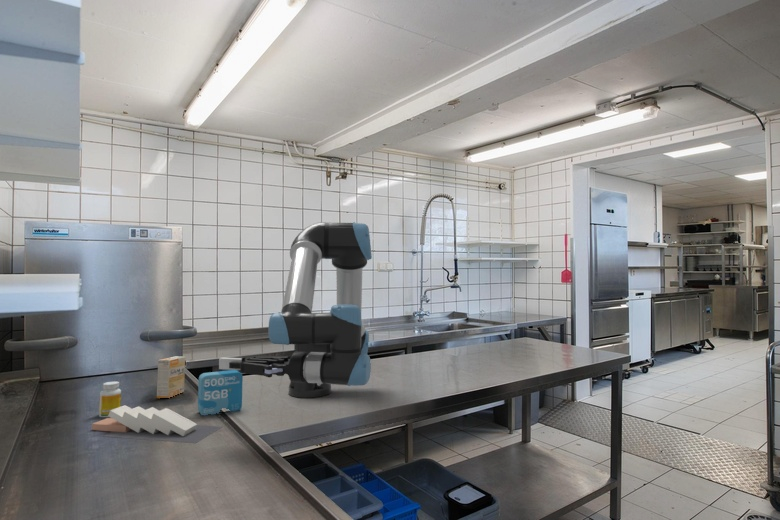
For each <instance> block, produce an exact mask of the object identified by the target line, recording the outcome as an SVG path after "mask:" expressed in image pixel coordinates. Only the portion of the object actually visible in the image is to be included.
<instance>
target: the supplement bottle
mask: <svg viewBox="0 0 780 520" xmlns="http://www.w3.org/2000/svg"><path fill="white" fill-rule="evenodd" d="M119 387H120V382H119V381H107V382H103V383H102V389H103V390H101V391H100V393H99V402H98V403H99V404H98V405H99V406H98V417H99V418H110V417H109V416H108V415H109V412H110V410H113V409H116V408H118V407H121V405H122V389H120V388H119Z"/></svg>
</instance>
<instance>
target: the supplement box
mask: <svg viewBox="0 0 780 520" xmlns="http://www.w3.org/2000/svg"><path fill="white" fill-rule="evenodd" d="M157 362H158V363H157V384H156V385H157V386H156V399H160V398H169V399H171V398H170V397H172V398H174V397H176V396H175V395H177V394H179V395H181V394H180V393H182V392H184V393H185V372H186V356H178V355H177V356H171V357H166V358H162V359H158V360H157ZM173 396H174V397H173ZM177 396H178V395H177Z"/></svg>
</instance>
